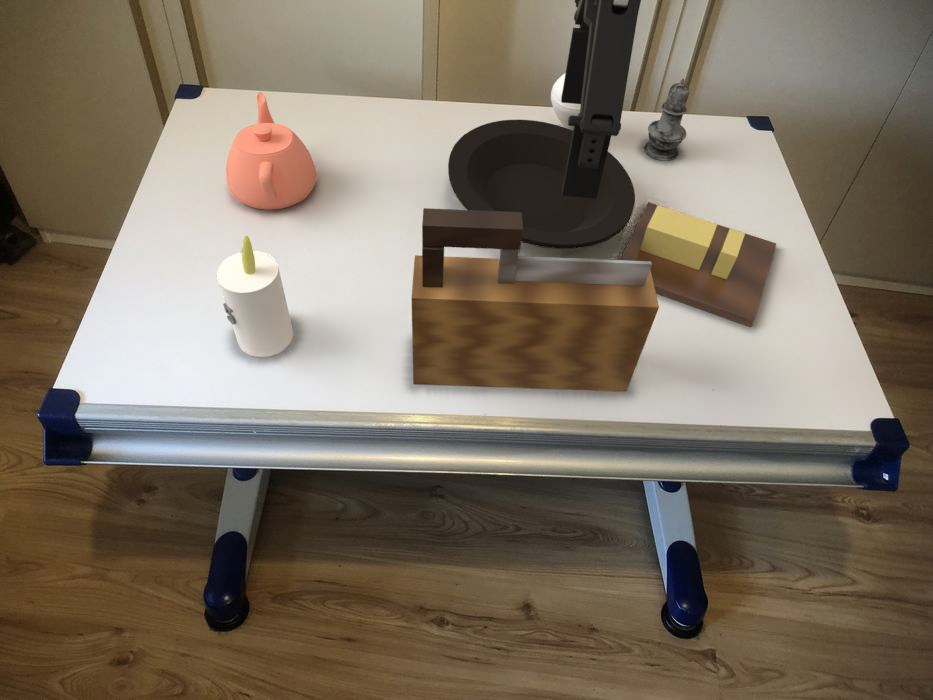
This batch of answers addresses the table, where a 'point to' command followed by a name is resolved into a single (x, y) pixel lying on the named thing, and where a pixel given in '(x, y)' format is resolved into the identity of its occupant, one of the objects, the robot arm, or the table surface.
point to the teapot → (269, 164)
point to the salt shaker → (669, 125)
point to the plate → (537, 184)
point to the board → (709, 274)
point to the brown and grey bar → (513, 251)
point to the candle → (255, 301)
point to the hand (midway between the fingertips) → (577, 144)
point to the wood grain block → (526, 330)
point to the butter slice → (728, 254)
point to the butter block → (678, 237)
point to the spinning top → (563, 104)
